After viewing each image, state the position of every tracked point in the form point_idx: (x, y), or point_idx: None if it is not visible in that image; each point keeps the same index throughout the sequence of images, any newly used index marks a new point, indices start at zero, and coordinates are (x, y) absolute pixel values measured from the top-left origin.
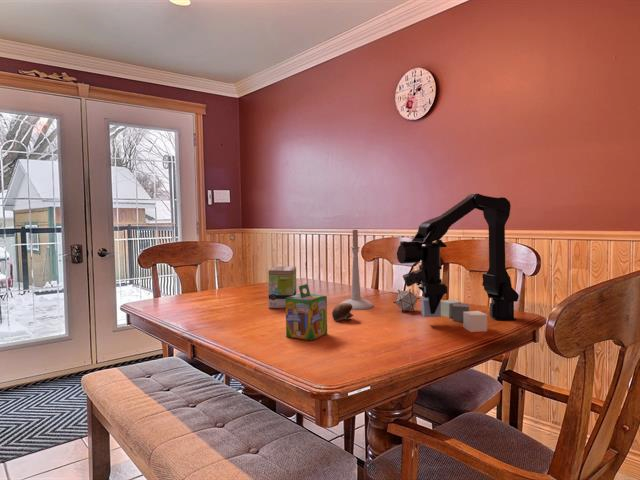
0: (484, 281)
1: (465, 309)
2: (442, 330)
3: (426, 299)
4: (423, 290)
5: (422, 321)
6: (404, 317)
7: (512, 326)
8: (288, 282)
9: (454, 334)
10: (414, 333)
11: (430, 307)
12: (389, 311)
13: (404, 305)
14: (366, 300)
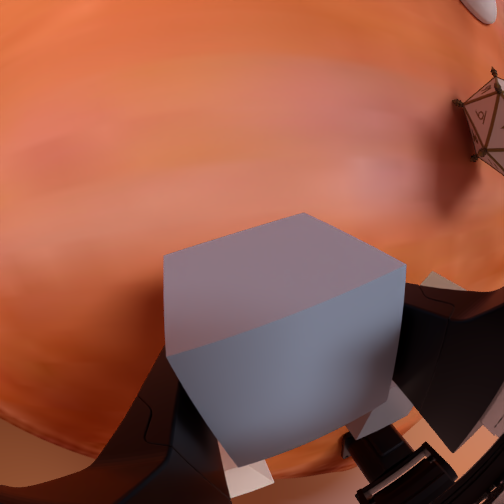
0: (444, 488)
1: (354, 422)
2: (127, 338)
3: (299, 358)
4: (492, 332)
5: (318, 200)
6: (385, 94)
7: (278, 470)
8: None
9: (85, 385)
10: (5, 198)
11: (154, 368)
12: (453, 51)
13: (480, 111)
14: (492, 4)
